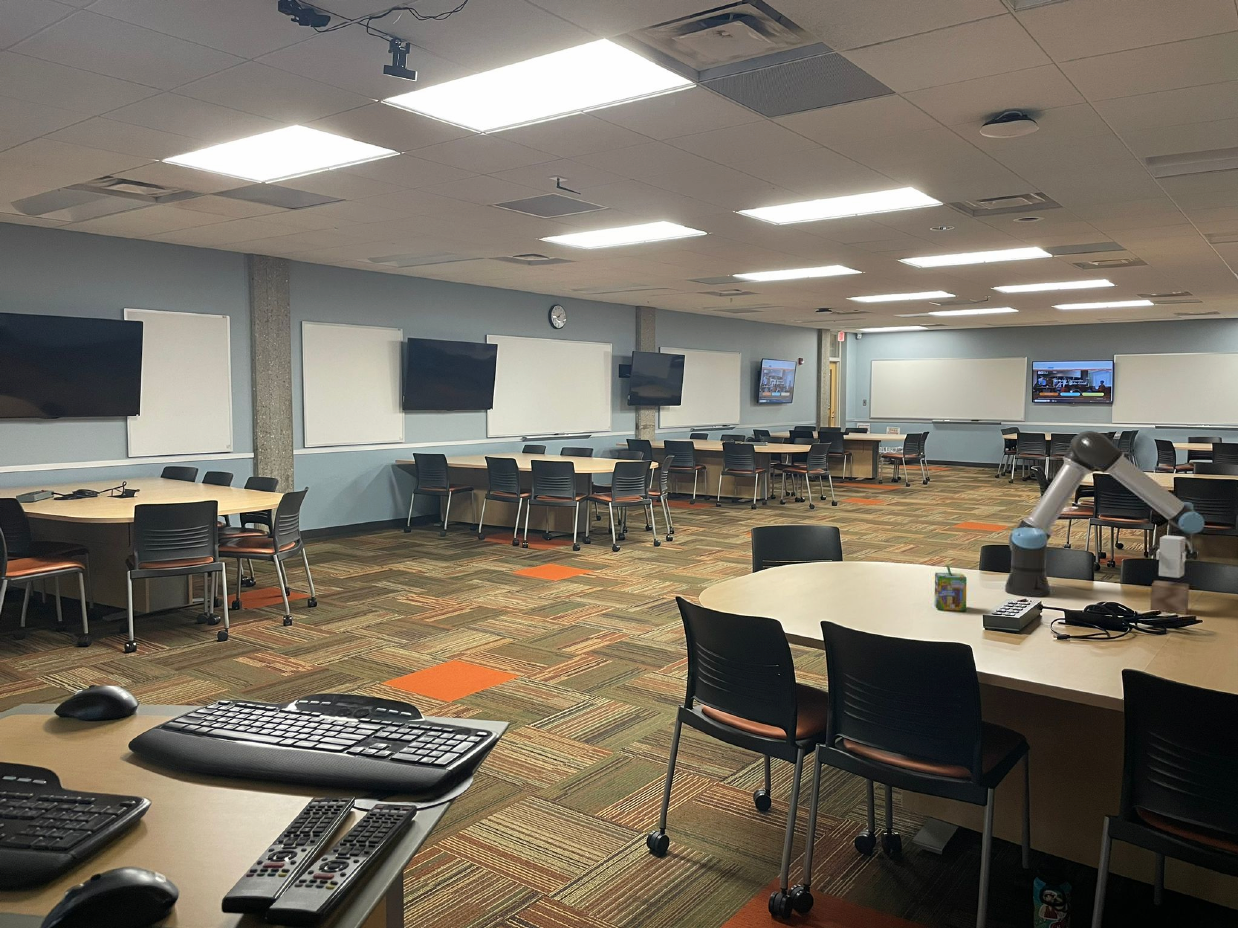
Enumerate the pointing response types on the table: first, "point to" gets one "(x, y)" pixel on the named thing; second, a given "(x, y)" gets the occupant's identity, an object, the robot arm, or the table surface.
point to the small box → (1171, 556)
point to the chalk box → (950, 591)
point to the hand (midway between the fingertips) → (1170, 556)
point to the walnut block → (1169, 597)
